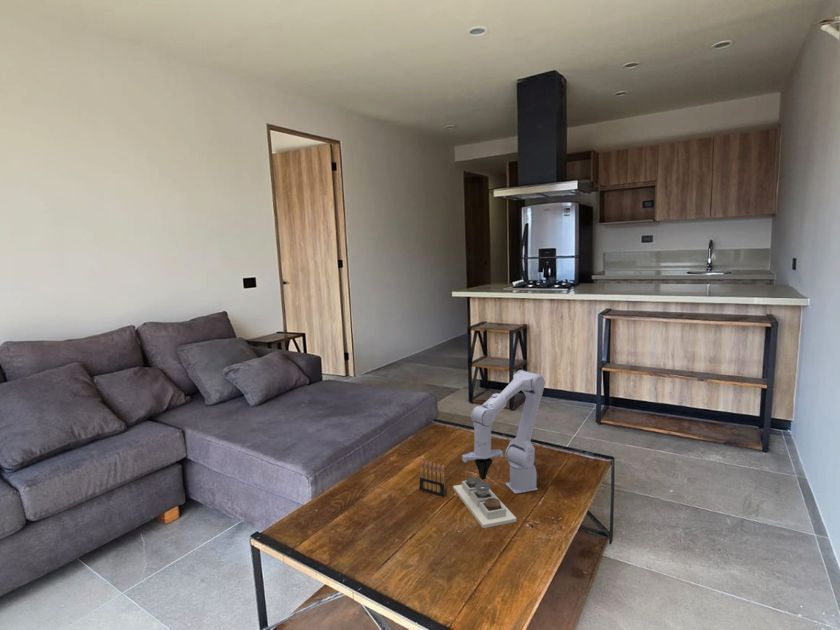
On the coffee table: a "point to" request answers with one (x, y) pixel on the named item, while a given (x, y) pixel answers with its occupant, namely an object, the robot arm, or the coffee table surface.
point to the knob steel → (482, 489)
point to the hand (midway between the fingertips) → (482, 478)
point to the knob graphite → (472, 481)
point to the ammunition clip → (432, 479)
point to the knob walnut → (492, 504)
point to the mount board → (483, 507)
